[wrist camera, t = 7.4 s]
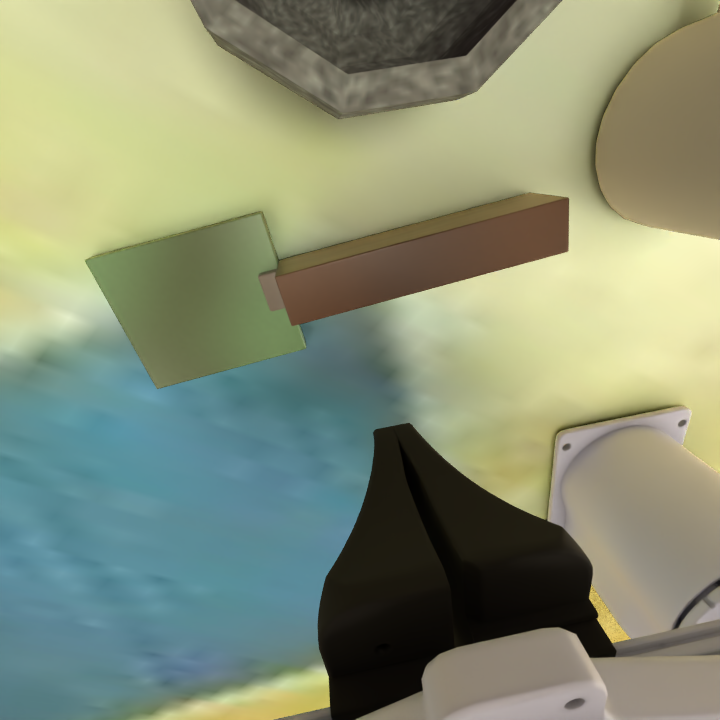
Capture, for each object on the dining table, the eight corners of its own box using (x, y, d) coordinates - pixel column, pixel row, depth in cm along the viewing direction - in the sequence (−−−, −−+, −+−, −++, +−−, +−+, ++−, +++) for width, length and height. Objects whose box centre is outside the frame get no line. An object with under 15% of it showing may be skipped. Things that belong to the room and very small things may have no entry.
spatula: (528, 139, 16) (570, 134, 13) (533, 282, 19) (568, 300, 16) (91, 256, 16) (51, 274, 13) (160, 383, 18) (138, 417, 16)
